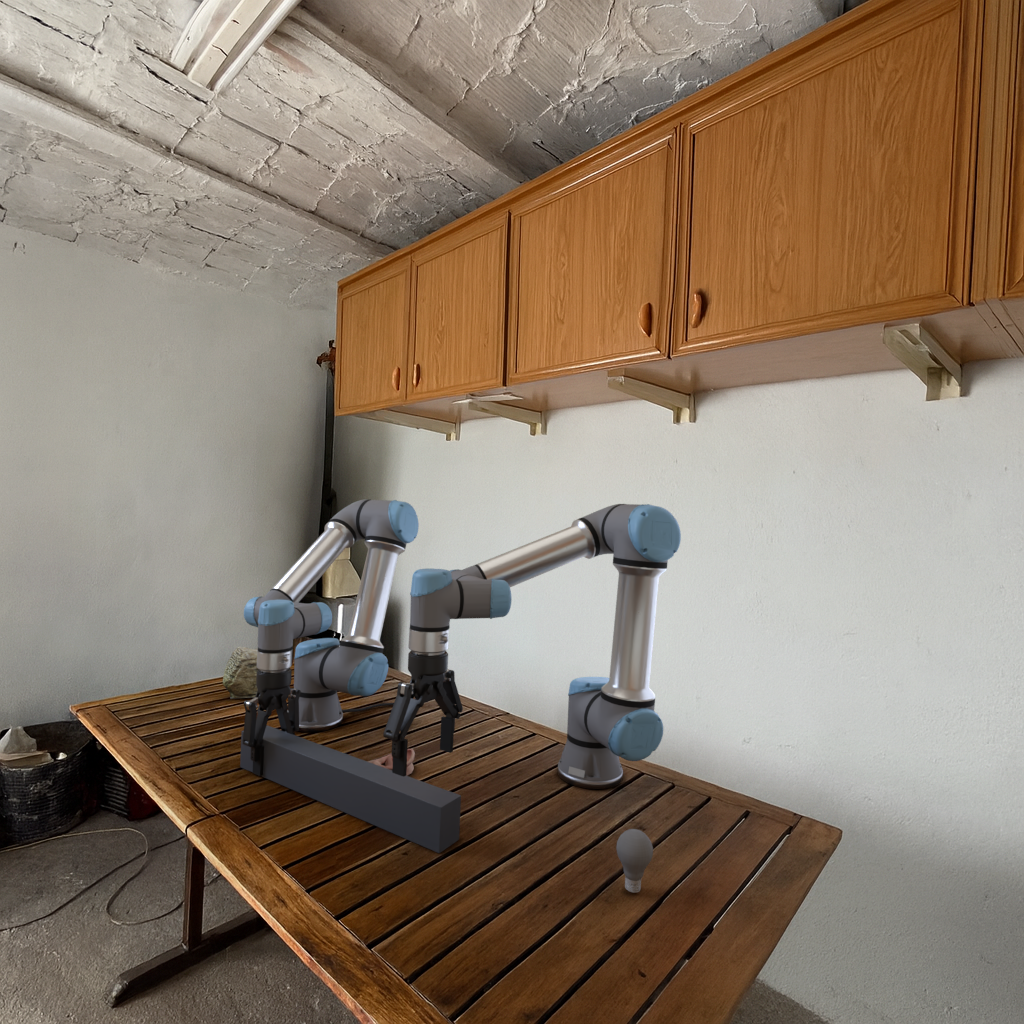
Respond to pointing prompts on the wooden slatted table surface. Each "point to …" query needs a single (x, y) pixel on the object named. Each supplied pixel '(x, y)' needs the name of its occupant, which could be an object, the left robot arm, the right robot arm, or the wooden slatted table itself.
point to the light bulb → (634, 857)
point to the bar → (360, 789)
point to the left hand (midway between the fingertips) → (270, 768)
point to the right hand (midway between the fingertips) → (423, 762)
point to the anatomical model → (388, 761)
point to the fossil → (241, 673)
